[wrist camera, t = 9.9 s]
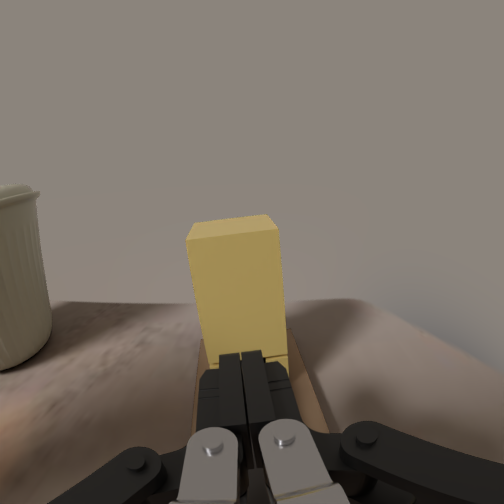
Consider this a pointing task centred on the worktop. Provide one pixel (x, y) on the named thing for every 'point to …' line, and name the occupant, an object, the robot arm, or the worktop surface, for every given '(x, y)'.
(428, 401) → the worktop surface
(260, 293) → the yellow block
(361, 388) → the worktop surface
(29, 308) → the canister
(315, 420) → the brown slotted block
